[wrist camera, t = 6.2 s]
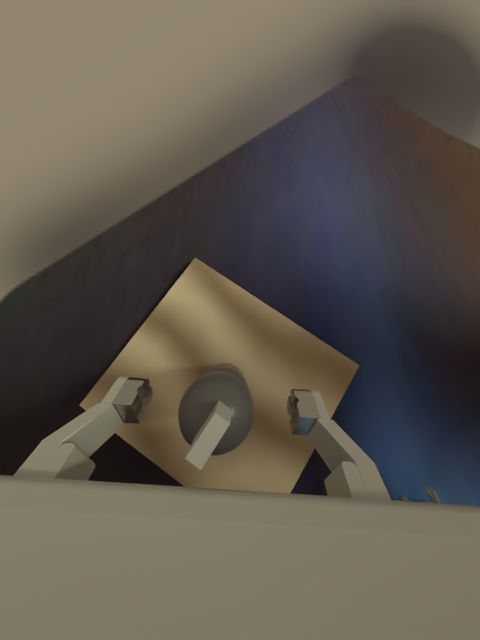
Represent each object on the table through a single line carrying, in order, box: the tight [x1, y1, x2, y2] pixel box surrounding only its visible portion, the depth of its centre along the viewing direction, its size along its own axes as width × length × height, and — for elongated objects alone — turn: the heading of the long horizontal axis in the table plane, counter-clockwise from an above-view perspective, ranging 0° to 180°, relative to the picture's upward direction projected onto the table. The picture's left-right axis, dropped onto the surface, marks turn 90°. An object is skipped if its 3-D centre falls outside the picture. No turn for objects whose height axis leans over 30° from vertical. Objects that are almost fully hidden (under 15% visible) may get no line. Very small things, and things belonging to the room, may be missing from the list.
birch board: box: [79, 258, 360, 494], centre depth 16 cm, size 16×18×1 cm
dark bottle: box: [178, 363, 254, 470], centre depth 11 cm, size 4×4×10 cm
